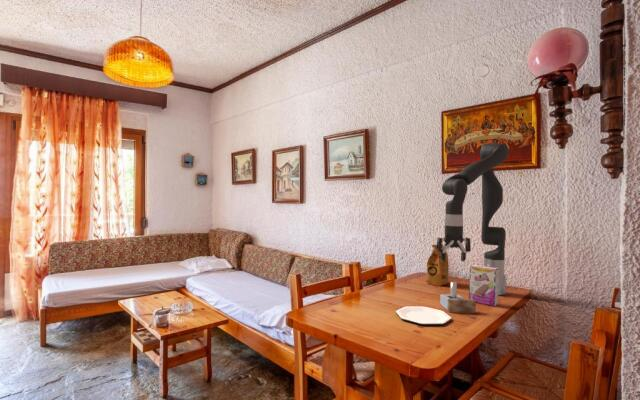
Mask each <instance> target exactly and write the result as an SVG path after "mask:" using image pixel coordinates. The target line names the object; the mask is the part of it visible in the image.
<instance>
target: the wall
mask: <svg viewBox="0 0 640 400" xmlns="http://www.w3.org/2000/svg"><path fill="white" fill-rule="evenodd" d="M476 306H477V303H476V300H474V299H469V298H464V299H448V310H447V312H448V313H467V314H468V313H473V314H474V313H476V312H477V310H476V309H477V307H476Z"/></svg>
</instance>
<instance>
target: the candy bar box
mask: <svg viewBox="0 0 640 400" xmlns="http://www.w3.org/2000/svg"><path fill="white" fill-rule="evenodd" d="M498 277H499V269H498V268H492V267H485V266H484V265H479V264H471V265H470V266H469V291H468V293H469V294H468V295H469V296H468V299H474V300H476V304H481V305H487V306H489V307H490V306H491V307H496V306H498V305H499V295H498Z"/></svg>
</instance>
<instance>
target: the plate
mask: <svg viewBox="0 0 640 400" xmlns="http://www.w3.org/2000/svg"><path fill="white" fill-rule="evenodd" d="M395 314H397V315H398V316H399V318H400V319H402V320H404V321H407V322H411V323H415V324H418V325H426V326H427V325H429V326H430V325H432V326H433V325H434V326H435V325H439V326H441V325H442V326H443V325H445V324H446V323H448V322H450V321H451V320H452V316H451V315H448V314H447V313H446V312H445V311H443V310H440V309H437V308H432V307H429V306H428V307H427V306H416V305H415V306H411V305H410V306H403V307H401V308H399V309H396V310H395Z"/></svg>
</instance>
